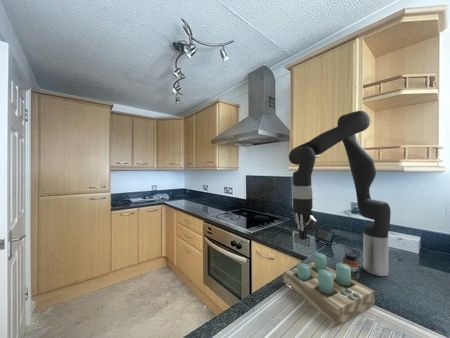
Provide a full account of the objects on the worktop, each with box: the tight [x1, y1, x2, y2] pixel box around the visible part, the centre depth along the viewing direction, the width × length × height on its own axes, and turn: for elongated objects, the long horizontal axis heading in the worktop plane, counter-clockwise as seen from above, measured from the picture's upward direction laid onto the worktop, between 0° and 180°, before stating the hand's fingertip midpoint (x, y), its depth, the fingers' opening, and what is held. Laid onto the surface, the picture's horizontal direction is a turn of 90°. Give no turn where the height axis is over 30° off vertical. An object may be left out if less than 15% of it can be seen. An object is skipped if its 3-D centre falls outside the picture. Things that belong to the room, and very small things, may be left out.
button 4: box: [335, 262, 351, 286], centre depth 73 cm, size 5×5×6 cm
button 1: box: [296, 262, 310, 282], centre depth 78 cm, size 5×5×6 cm
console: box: [283, 261, 375, 326], centre depth 75 cm, size 20×24×5 cm
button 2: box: [313, 252, 328, 271], centre depth 82 cm, size 5×5×6 cm
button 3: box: [318, 269, 333, 294], centre depth 69 cm, size 5×5×6 cm
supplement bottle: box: [342, 251, 360, 283], centre depth 84 cm, size 6×6×11 cm
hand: (302, 239), depth 78 cm, fingers closed
